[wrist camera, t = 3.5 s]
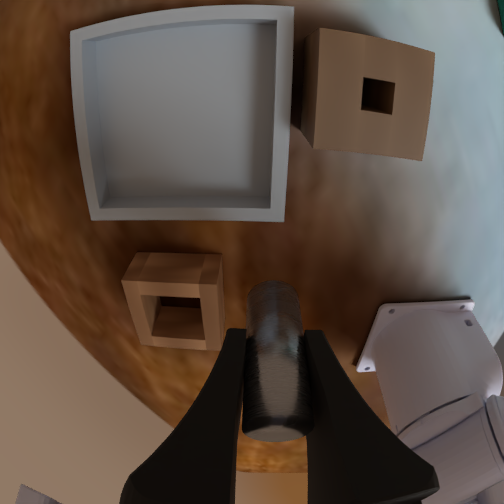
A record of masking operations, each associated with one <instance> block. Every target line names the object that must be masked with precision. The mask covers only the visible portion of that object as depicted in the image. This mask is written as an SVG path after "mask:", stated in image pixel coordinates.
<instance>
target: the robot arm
mask: <svg viewBox="0 0 504 504" xmlns="http://www.w3.org/2000/svg"><path fill="white" fill-rule="evenodd" d="M474 305H475V303H474V301H473V300H472V299H469V300H454V301H437V302H417V303H390V304H383V305H381V306H380V307H379V309H378V312H377V315H376V318H375V320H374V323H373V326H372V328H371V331H370V334H369V336H368V339H367V341H366V344H365V346H364V349H363V351H362V354H361V356H360V358H359V361H358V363H357V366H356V370H357V371H358V372H368V371H376V374H377V377H378V381H379V384H380V388H381V392H382V395H383V399H384V403H385V407H386V410H387V414H388V418H389V422H390V426H391V430H392V431H391V430H390V429H389V428H388V427H387V426H386V425H385V424H384V423H383V422H382V421H381V420H380V419H379V418H378V416H377V415H376V414H375V413H374V412H373V410H372V409H371V408H370V407H369V406H368V404H367V403H366V402H365V400H364V399H363V398H362V396H361V395H360V394H359V392H358V391H357V389H356V388H355V387H354V385H353V384H352V382H351V381H350V379H349V377H348V376H347V374H346V373H345V371H344V369H343V368H342V366H341V365H340V363H339V361H338V359H337V358H336V356H335V354H334V352H333V350H332V349H331V347H330V345H329V343H328V341H327V339H326V337H325V335H324V333H323V331H322V330H305V333H304V343H305V351H306V359H307V365H308V372H309V380H310V389H311V397H312V406H313V415H314V424H315V427H314V429H313V430H312V431H311V432H310V433H309V434H307V435H306V439H307V457H308V504H504V397H502V396H499V395H500V392H501V389H502V382H503V374H502V367H501V363H500V360H499V358H498V356H497V354H496V352H495V350H494V348H493V347H492V345H491V343H490V341H489V340H488V338H487V336H486V334H485V333H484V331H483V329H482V328H481V326H480V324H479V323H478V321H477V320H476V318H475V316H474V315H473V313H472V312H471V311H472V309H473V307H474ZM391 309H392V310H391ZM246 331H247V329H237V328H229V329H228V330H227V332H226V336H225V340H224V343H223V346H222V348H221V351H220V353H219V356H218V358H217V360H216V363H215V365H214V367H213V369H212V371H211V373H210V375H209V377H208V379H207V381H206V382H205V384H204V386H203V388H202V389H201V391H200V393H199V395H198V396H197V398H196V400H195V401H194V403H193V404H192V406H191V407H190V409H189V410H188V412H187V413H186V414H185V416H184V417H183V418H182V420H181V421H180V422H179V424H178V425H177V426H176V428H175V429H174V430H173V431H172V433H171V434H170V435H169V436H168V437H167V439H166V440H165V441H164V442H163V443H162V444H161V445H160V446H159V447H158V448H157V449H156V450H155V452H154V453H153V454H152V455H151V456H150V457H149V458H148V459H147V460H145V461H144V462H143V463H142V464H141V465H140V466H139V467H138V468H137V469H136V470H135V471H134V472H132V473H131V474H130V475H129V477H128V479H127V481H126V483H125V485H124V488H123V490H122V493H121V497H120V503H119V504H235V482H236V456H237V439H238V431H239V424H240V417H241V410H242V402H243V389H244V368H245V359H246ZM16 504H62V503H59V502H57V501H56V500H54V499H52V498H50V497H48V496H46V495H44V494H42V493H40V492H38V491H36V490H33V489H31V488H29V487H27V486H25V485H23V484H21V486H20V489H19V492H18V496H17V500H16Z"/></svg>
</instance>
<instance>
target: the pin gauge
mask: <svg viewBox="0 0 504 504" xmlns="http://www.w3.org/2000/svg"><path fill="white" fill-rule="evenodd" d="M246 329H247V331H246V359H245V368H244V389H243V414H242V431H243V433H244V434H245V435H246V436H248V437H250V438H252V439H256V440H260V441H266V442H283V441H290V440H294V439H298V438H301V437H303V436H305V435H307V434H309V433H310V432H311V431H312V430H313V429H314V427H315V424H314V415H313V406H312V397H311V389H310V380H309V372H308V365H307V359H306V351H305V343H304V334H303V327H302V319H301V312H300V305H299V299H298V294H297V292H296V290H295V289H294V288H293V287H292V286H291V285H289V284H287V283H285V282H282V281H275V280H273V281H265V282H262V283H260V284H258V285H256V286H255V287H253V288H252V289H251V291H250V292H249V294H248V297H247V314H246Z"/></svg>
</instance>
